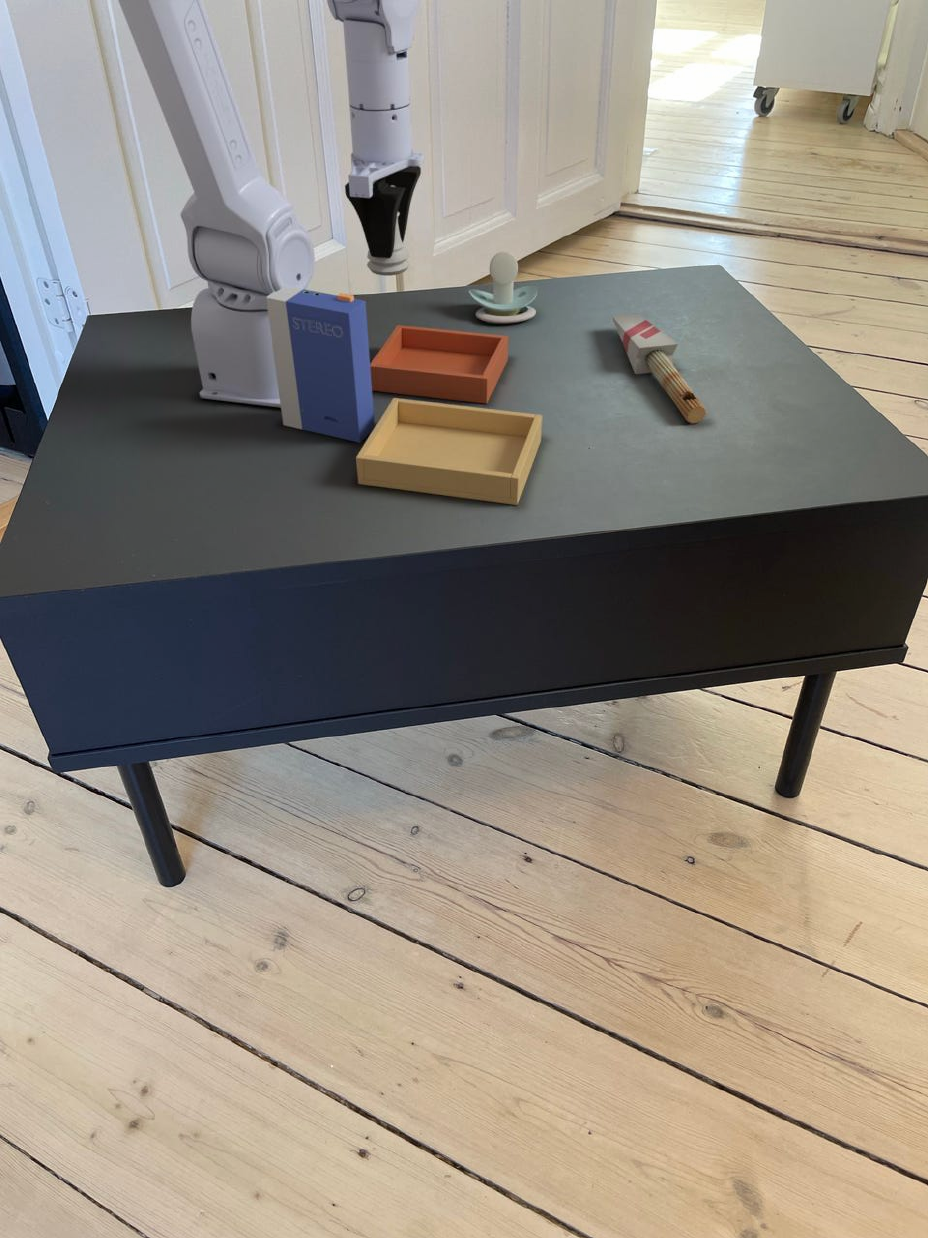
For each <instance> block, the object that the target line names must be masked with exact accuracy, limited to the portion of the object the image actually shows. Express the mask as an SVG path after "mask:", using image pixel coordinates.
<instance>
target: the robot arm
mask: <svg viewBox="0 0 928 1238" xmlns="http://www.w3.org/2000/svg"><path fill="white" fill-rule="evenodd" d="M117 2H118V3H119V6H120V9H121V11H122V14H123V16H124V19H125V21H126V24H127V26H128V29H129V31H130V34H131V36H132V39H133V41H134V43H135V46H136V49H137V52H138V54H139V57H140V59H141V61H142V64H143V67H144V69H145V71H146V74H147V77H148V79H149V81H150V82H149V83H150V84H151V86H152V89H153V91H154V94H155V96H156V99H157V101H158V104H159V107H160V110H161V112H162V114H163V116H164V119H165V122H166V124H167V128H168V130H169V131H170V135H171V137H172V139H173V143H174V145H175V147H176V150H177V152H178V154H179V157H180V159H181V162H182V164H183V168H184V170H185V172H186V174H187V177H188V179H189V183H190V184H191V187H192V190H193V193H192V195H190V197H189V198H188V199H187V201H186V203H185V204H184V206H183V208H182V210H181V212H180V218H181V221H182V224H183V226H184V229H185V232H186V243H187V256H188V260H189V262H190V265H191V267H192V269H193V271H194V272H195V273H196V275H197V276H198V277H200V279H202V280H204V281H206V282H207V288H204V289H202V290H201V291H199V292H198V294H197V295H196V297H195V299H194V301H193V303H192V309H191V318H190V326H191V327H190V329H191V335H192V339H193V340H192V341H193V346H194V351H195V356H196V361H197V366H198V372H199V377H200V380H201V386H202V389H201V390H200V391H199V397H200V398H201V399H206V400H213V401H214V400H215V401H222V402H231V403H238V404H248V405H257V406H264V407H271V408H273V407H274V408H280V409H281V404H280V397H279V390H278V383H277V376H276V369H275V362H274V355H273V348H272V336H271V329H270V323H269V316H268V309H267V302H266V297H267V296H268V295H270V294H271V293H273V292H274V291H275V292H277V291H278V290H280V289H281V288H283V287H284V286H288V287H293V288H298V289H304V290H307V289H308V287H309V285H310V283H311V281H312V278H313V275H314V271H315V263H316V258H315V257H316V256H315V249H314V244H313V241H312V238H311V236H310V234H309V232H308V231H307V230H306V229H305V228H304V227H303V225H301V224H300V222H299V220H298V218H297V216H296V213H295V210H294V207H293V204H292V203H291V202H290V201H289V200H288V199H287V198H286V197H285V196H283V194H281V193H280V192H279V191H278V190H277V189H276V188H274V186H273V185H272V184H270V183H269V182H268V181H267V180H266V179H264V177H263V176H262V174H261V170H260V168H259V165H258V162H257V159H256V156H255V153H254V150H253V147H252V144H251V141H250V137H249V135H248V132H247V129H246V126H245V123H244V120H243V117H242V114H241V111H240V107H239V104H238V102H237V98H236V96H235V93H234V90H233V87H232V84H231V81H230V78H229V75H228V71H227V69H226V66H225V63H224V60H223V57H222V55H221V54H222V53H221V51H220V48H219V45H218V42H217V39H216V37H215V34H214V31H213V27H212V24H211V22H210V19H209V16H208V15H209V14H208V12H207V10H206V7H205V3H204V0H117ZM326 2H327V3H326V4H327V6H328V10H329V11H330V14H331V16H332V17H333V19H334V20H336V21H339V22H341V23H343V36H344V53H345V64H346V65H345V66H346V78H347V91H348V104H349V105H348V106H349V108H348V109H349V120H350V122H349V123H350V133H351V134H350V135H351V149H352V151H351V154H350V163H351V166H350V167H351V170H350V171H351V172H350V173H349V174H348V182H347V183H346V184H344V191H345V192H344V193H345V197H346V198H347V199H348V201H349V202H350V204H351V206H352V207H353V209H354V211H355V213H356V215H357V218H358V220H359V222H360V224H361V229H362V231H363V234H364V238H365V241H366V244H367V248H368V251H370V254H371V256H372V257H381V258H391V257H392V254H393V250H394V242H395V228H396V219H397V213H398V212H399V213H400V214H399V216H398V226H399V232H400V237H401V240H402V242H403V243H404V240H405V237H406V233H407V227H408V220H409V213H410V206H411V202H412V198H413V195H414V191H415V189H416V186H417V183H418V181H419V179H420V177H421V174H422V168H421V165H422V164H423V163H424V162H425V155H424V154H423V153H420V152H414V135H413V134H412V124H411V123H412V120H411V119H412V117H411V90H410V89H411V88H410V66H409V65H410V64H409V49H411V48H412V47H413V41H414V39H415V37H414V36H415V35H414V33H415V31H414V30H415V29H414V27H415V25H414V24H415V20H416V19H415V18H416V16H417V14H418V10H419V5H420V0H326ZM391 185H393V186H395V187H390V186H391Z"/></svg>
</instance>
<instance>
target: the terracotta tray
mask: <svg viewBox="0 0 928 1238" xmlns="http://www.w3.org/2000/svg"><path fill="white" fill-rule="evenodd" d="M508 355H509V336H508V335H502V334H491V333H480V332H473V331H471V332H470V331H462V330H453V329H452V330H451V329H442V328H431V327H424V326H423V327H421V326H413V325H403V324H402V325H401V324H397V325H396V327H395V328H394V330H393V331H392V332H391V333H390V335H389V336H388V337H387V339H386V341H385V342H384V344H383V345H382V346H381V348H380V349H379V351H378V352H377V354H376V355H375V356H374V358H373V359H372V361H370V369H371V383H372V392H382V393H389V394H391V393H392V394H399V395H408V396H416V397H424V398H435V399H442V400H451V401H458V402H459V401H460V402H468V403H469V402H470V403H478V404H485V405H486V404H488V402H489V400H490V398H491V396H492V394H493V393H494V390H495V388H496V385H497V384H498V381H499V380H500V377H501V375H502V373H503V371H504V368H505V367H506V364H507V362H508V361H509V356H508Z"/></svg>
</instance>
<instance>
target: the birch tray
mask: <svg viewBox="0 0 928 1238" xmlns="http://www.w3.org/2000/svg"><path fill="white" fill-rule="evenodd" d="M542 427H543V415H542V414H535V413H527V412H519V411H511V410H510V411H509V410H501V409H495V408H493V409H491V408H483V407H475V406H468V405H467V406H466V405H458V404H449V403H441V402H433V401H432V402H431V401H425V400H415V399H407V398H398V397H393V398H392V399H391V401H390V402H389V404H388V406H387V408H386V409H385V411H384V412H383V414H382V416H381V417H380V418H379V420H378V421H377V423H376V424H375V428H374V430H373V431H372V432H371V433H370V434H369V435H368V438H366V441H365V442H364V444H363V446H362V447H361V449H360V451H358V453H357V455H356V457H355V460H356V461H355V463H356V474H357V484H358V485H363V486H372V487H378V488H387V489H393V490H394V489H395V490H401V491H408V492H409V491H410V492H416V493H422V494H423V493H425V494H431V495H439V496H440V495H441V496H446V497H453V498H460V499H467V500H468V499H469V500H476V501H484V502H490V503H499V504H506V505H513V506H518V504H519V502H520V499H521V497H522V494H523V491H524V489H525V486H526V482H527V480H528V477H529V475H530V473H531V470H532V467H533V463H534V461H535V458H536V455H537V452H538V450H539V447H540V444H541V443H542V430H543V429H542Z"/></svg>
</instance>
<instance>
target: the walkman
mask: <svg viewBox="0 0 928 1238" xmlns="http://www.w3.org/2000/svg"><path fill="white" fill-rule="evenodd" d="M354 296H355V295H354V294H350V293H349V294H348V293H344V292H340V293H339V294H338V295H337V294H331V293H325V292H320V291H315V290H309V289H306V290H304V289H298V288H293V287H288V286H284V287H283V288H281V289H280V290H278V291H277V292H275V291H274V292H273V293H271V294H270V295H268V296H267V297H266V302H267V309H268V316H269V323H270V329H271V336H272V348H273V355H274V362H275V369H276V376H277V383H278V390H279V397H280V404H281V408H280V410H281V418H282V424H283V426H286V427H291V428H294V429H299V430H304V431H307V432H312V433H316V434H321V435H325V436H328V437H334V438H338V439H341V440H346V441H351V442H355V443H359V444H360V443H361V442H362V441H364V440H365V439H366V438H367V437H368V436H369V435H370V434H371V433H372V431H373V430H374V428H375V426H376V423H375V411H374V410H375V409H374V398H373V391H372V383H371V369H370V364H371V359H370V358H371V357H370V346H369V344H370V343H369V331H368V319H367V318H368V317H367V303H366V300H364V299H358V298H355V297H354Z"/></svg>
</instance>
